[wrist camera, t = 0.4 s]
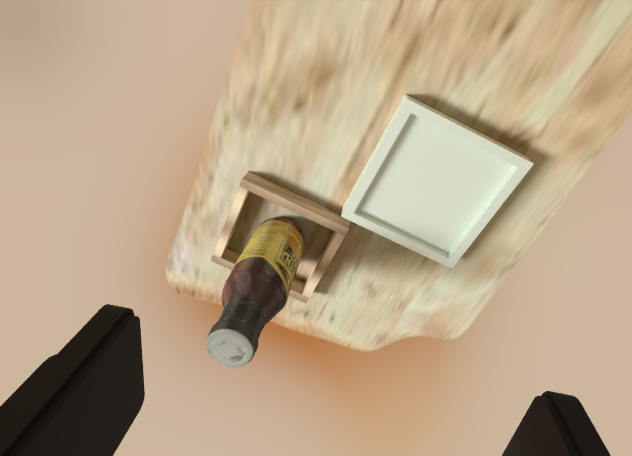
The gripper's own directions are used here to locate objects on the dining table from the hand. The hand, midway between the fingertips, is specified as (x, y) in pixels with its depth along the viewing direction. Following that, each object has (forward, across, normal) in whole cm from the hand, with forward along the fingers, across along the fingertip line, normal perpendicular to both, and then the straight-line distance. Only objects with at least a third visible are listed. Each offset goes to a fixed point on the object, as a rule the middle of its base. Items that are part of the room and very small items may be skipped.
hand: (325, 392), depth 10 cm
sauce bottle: (+37, +6, +16) cm, 41 cm away
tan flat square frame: (+37, +6, +16) cm, 41 cm away
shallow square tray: (+36, -9, +6) cm, 38 cm away
